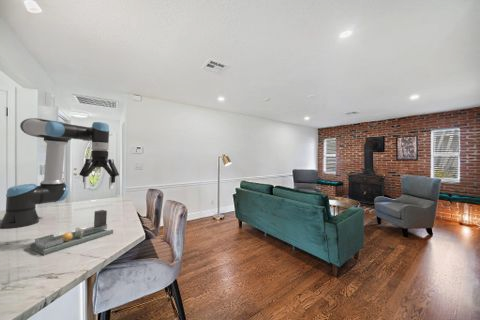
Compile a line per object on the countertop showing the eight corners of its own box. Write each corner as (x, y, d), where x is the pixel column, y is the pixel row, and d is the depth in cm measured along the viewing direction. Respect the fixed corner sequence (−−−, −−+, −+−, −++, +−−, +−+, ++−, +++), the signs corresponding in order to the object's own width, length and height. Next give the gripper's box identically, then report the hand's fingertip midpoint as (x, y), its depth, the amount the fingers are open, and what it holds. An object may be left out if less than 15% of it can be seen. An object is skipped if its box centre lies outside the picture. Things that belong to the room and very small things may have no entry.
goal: (34, 247, 84) (34, 238, 84) (52, 242, 89) (52, 234, 90) (44, 253, 80) (45, 243, 80) (62, 247, 85) (63, 238, 85)
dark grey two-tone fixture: (75, 236, 96) (76, 214, 96) (103, 228, 107) (103, 209, 108) (80, 238, 93) (81, 216, 94) (108, 229, 105) (109, 210, 105)
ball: (59, 241, 90) (59, 233, 90) (69, 238, 93) (70, 230, 93) (63, 243, 88) (64, 235, 88) (74, 240, 92) (74, 232, 92)
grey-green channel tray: (29, 247, 84) (29, 243, 84) (98, 228, 109) (98, 225, 109) (43, 255, 78) (44, 250, 78) (113, 233, 103) (113, 229, 103)
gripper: (71, 149, 100) (70, 189, 100) (118, 150, 100) (117, 189, 100) (83, 150, 108) (82, 187, 107) (126, 151, 108) (125, 188, 107)
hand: (98, 188), depth 104 cm, fingers open, 13 cm apart
